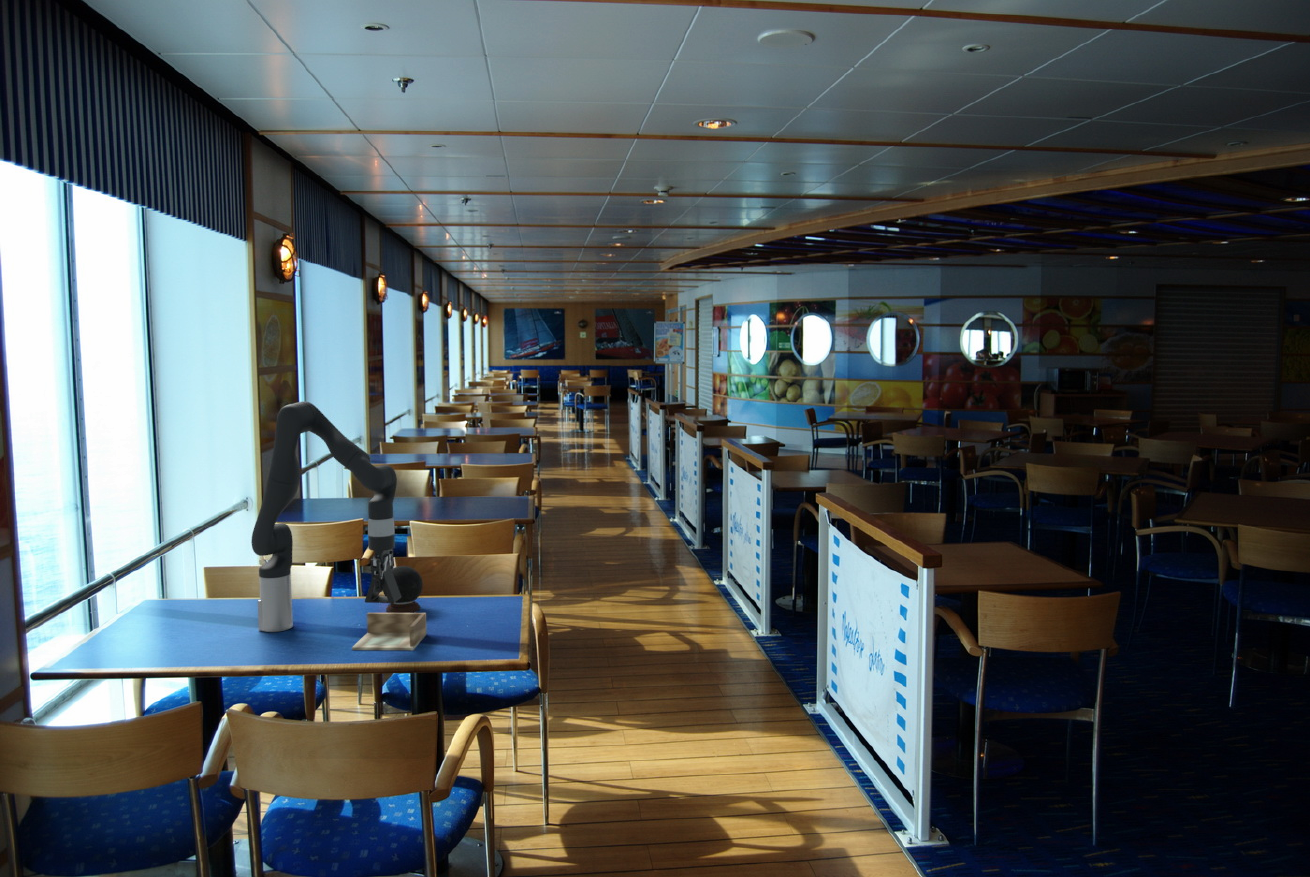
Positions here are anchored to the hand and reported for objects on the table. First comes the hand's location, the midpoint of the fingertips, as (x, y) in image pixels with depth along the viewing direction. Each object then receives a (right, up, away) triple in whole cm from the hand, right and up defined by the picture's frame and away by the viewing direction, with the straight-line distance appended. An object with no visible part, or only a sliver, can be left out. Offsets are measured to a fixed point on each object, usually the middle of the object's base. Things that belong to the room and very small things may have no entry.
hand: (382, 588), depth 269 cm
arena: (+1, -17, +4) cm, 17 cm away
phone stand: (0, -4, 0) cm, 4 cm away
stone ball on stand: (-4, -14, +38) cm, 40 cm away
